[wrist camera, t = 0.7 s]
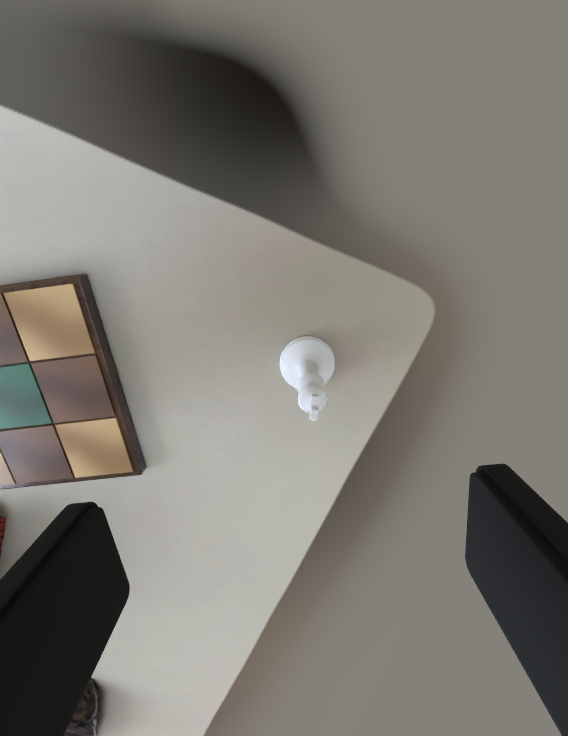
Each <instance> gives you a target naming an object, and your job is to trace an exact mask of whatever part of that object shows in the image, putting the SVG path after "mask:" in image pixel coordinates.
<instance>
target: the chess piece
mask: <svg viewBox="0 0 568 736" xmlns="http://www.w3.org/2000/svg"><path fill="white" fill-rule="evenodd" d="M334 369H335V357H334V354H333V351H332V349H331V348H330V346H329V345H328V344H327V343H326V342H324V341H323V340H321V339H319V338H316V337H311V336H304V337H299V338H297V339H294V340H293V341H291V342H290V343H289V344H287V345H286V347H285V348H284V349H283V351H282V353H281V356H280V370H281V373H282V375H283V377H284V379H285V380H286V381H287V382H288V383H289V384H290V385H291V386H293V387H294V388H297V391H298V393H299V396H298V403H299V405H300V407H301V408H302V409H303V410H304V411H306V412H308V413H310V421H317V417H318V415H319V412H320V411H322V410H323V409H324V408H325V407H326V405H327V403H328V395H327V393H326V391H325V384H326V383H327V382H328V381H329V380H330V378H331V377H332V375H333V372H334Z"/></svg>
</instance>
